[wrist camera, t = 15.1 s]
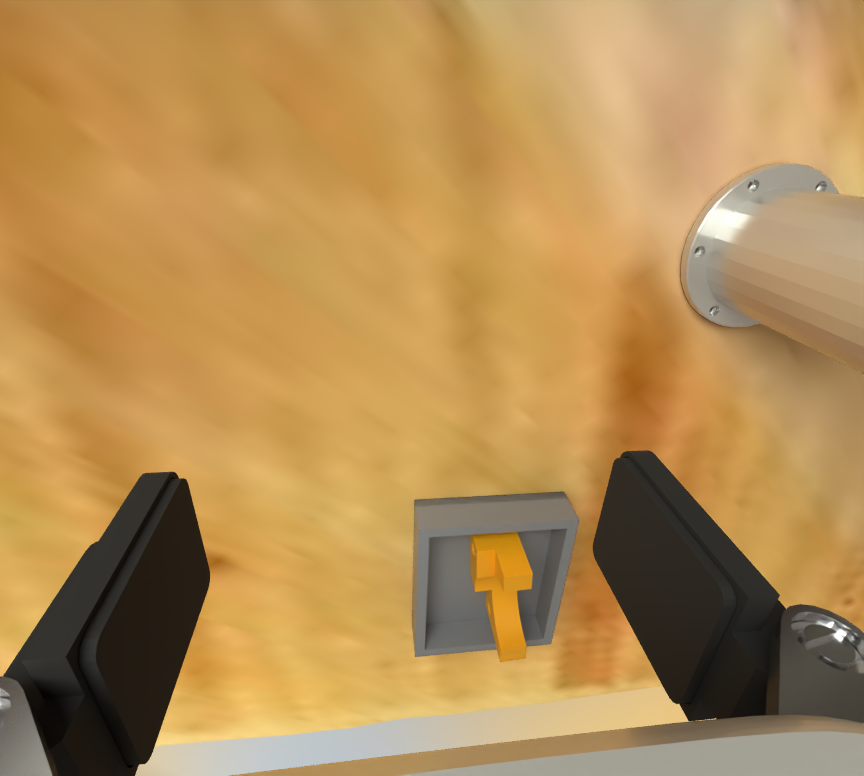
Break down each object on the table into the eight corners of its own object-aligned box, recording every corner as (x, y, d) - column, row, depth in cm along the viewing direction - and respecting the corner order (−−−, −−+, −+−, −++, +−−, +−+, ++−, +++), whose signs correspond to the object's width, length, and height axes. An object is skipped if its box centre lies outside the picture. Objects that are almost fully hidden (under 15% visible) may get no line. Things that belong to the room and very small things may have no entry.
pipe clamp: (470, 526, 48) (484, 579, 43) (513, 521, 49) (532, 573, 43) (470, 608, 54) (482, 664, 48) (508, 603, 54) (525, 658, 49)
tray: (563, 491, 49) (579, 519, 46) (539, 612, 57) (551, 644, 54) (414, 499, 47) (418, 529, 44) (411, 623, 56) (415, 657, 52)
